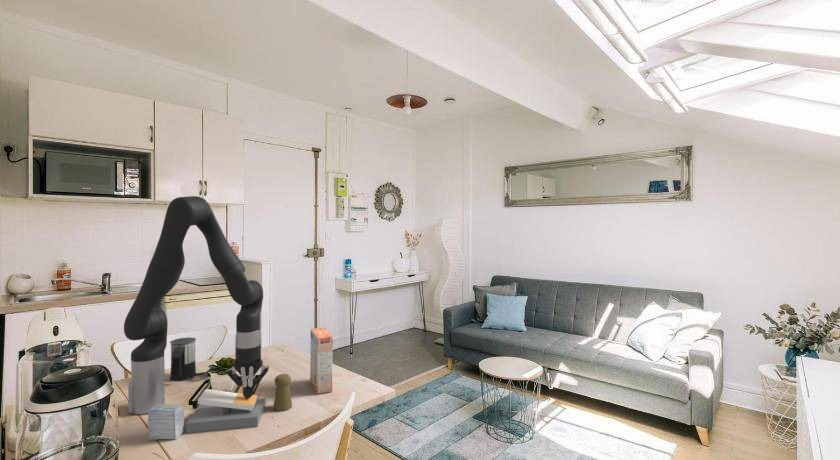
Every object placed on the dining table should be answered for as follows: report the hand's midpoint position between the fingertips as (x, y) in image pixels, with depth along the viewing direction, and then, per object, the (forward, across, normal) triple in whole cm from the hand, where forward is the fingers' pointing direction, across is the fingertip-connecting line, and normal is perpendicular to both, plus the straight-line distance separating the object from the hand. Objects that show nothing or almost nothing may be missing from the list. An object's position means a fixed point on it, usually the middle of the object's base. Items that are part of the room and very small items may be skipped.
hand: (248, 397), depth 127 cm
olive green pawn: (+7, +10, +5) cm, 13 cm away
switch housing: (+6, -6, 0) cm, 9 cm away
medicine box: (+7, -21, -7) cm, 23 cm away
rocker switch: (+1, -6, 0) cm, 6 cm away
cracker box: (+7, +22, +20) cm, 30 cm away
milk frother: (+7, -29, +39) cm, 49 cm away
